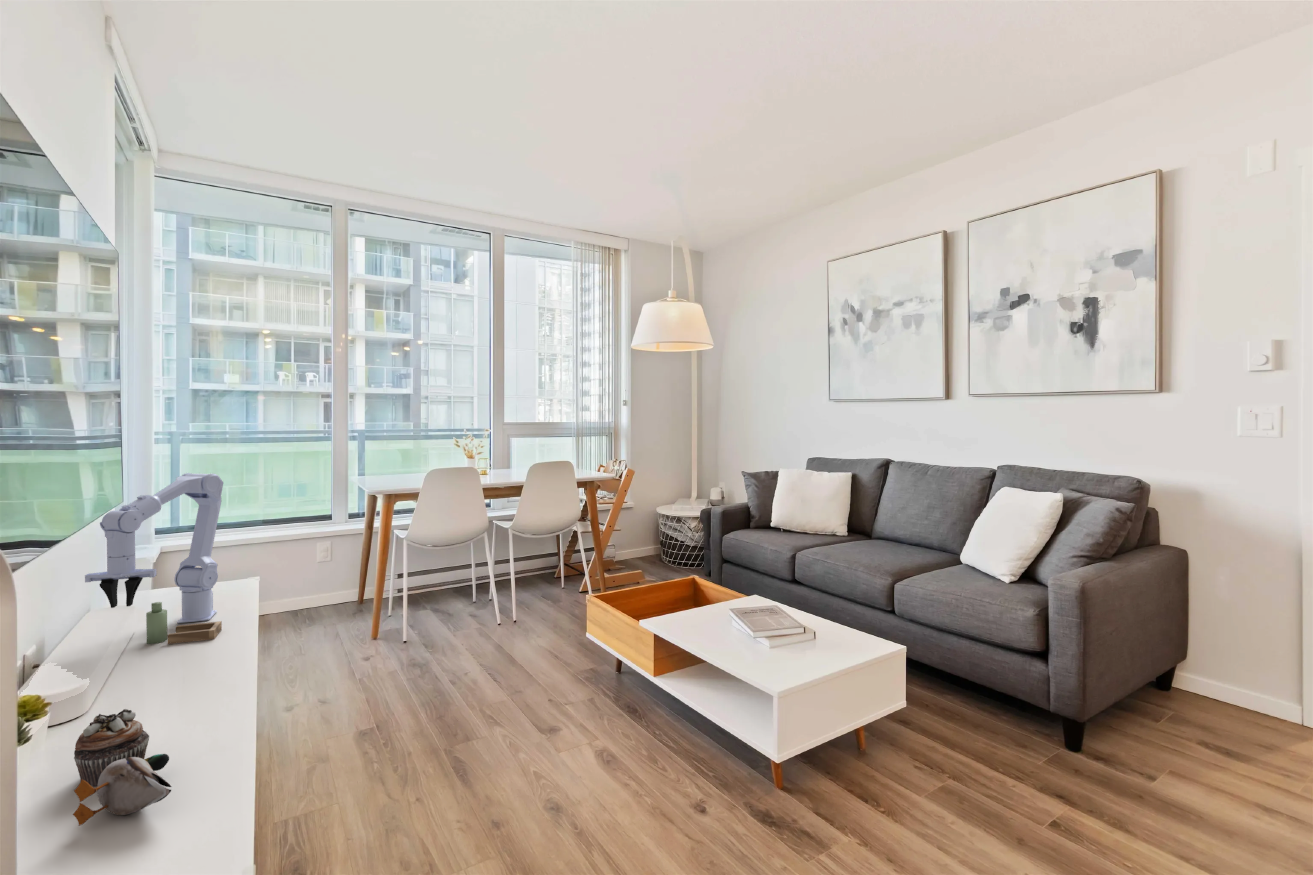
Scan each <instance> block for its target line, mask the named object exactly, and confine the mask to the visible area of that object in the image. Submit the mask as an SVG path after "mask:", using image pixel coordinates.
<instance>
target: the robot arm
mask: <svg viewBox="0 0 1313 875" xmlns="http://www.w3.org/2000/svg"><path fill="white" fill-rule="evenodd" d="M223 488H224V480H222V479H221V477H220V476H219V474H216V473H213V472H212V473H211V472H210V473H193V472H186V473H183V474H182V475H180V476H177V477H175V481H173V482H171V483H170V484H168V485H166V486H165V487H164V488H162V489H161V490H158V492H156V493H154V494H153V495H151V494H145V495H144V494H141V495H139V496H137V497H136V498H137V499H136V500H134V501H132V502H130V503H129V504H124V505H122V506H121V508H120V509H118V510H111V511H108V512H107V513H106V514H105V515H103V517H102V519H101V521H100V522H99V526H100V528H101V530H102V531H103V532H104V537H105V538H106V567H107V568H106V571H101V572H92V573H91V572H90V573H89V572H88V573H86V574H85V575H84V583H91V582H100V583H99V587H100V588H101V590H102V591H103V592H104V594H105V595H106V597H107V599H108V602H109V604H110V608H111V609H114V608H116V607H118V584H119V580H125V581H124V586H125V590H126V591H125V593H126V600H125V604H126V607H131V606H132V605H133V604H134V598H135V596H136V593H137V590H138V588H139V587H140V584H141V582H142V581H143V579H144V578H155V577H156V576H157V568H136V531H137V530H138V529H139V528H140V527H141V525H142V523H143V522H144V521H146V520H148V519H149V518H151V517H152V516H155V515H156V514H157V513H160V512H161V509H162V506H163V505H164V504H166V503H168V502H171V501H173V500H174V499H177V498H178V497H180V496H182V495H185V496H188V497H189V498H191V499H192V500H194V501H195V503H197V504H198V509H197V514H196V518H195V524H194V529H193V532H192V538H191V544H190V548H189V549H190V550H189V554H188V556H187V557H186V558H185V559H184V560H182V561H181V562H180V563H179V568H178V569H177V571H176V573H175V574H174V577H173V578H174V584H175V585H176V586H177V587H178V588H179V591H181V617H180V618H179V619H178V620H177V621H176V623H177V624H185V623H193V622H205V621H210V620H211V619H212V617H213V616H214V615H215V614H216V613H217V611H218V610H216V609H215V610H214V593H213V592H214V591H213V590H212V589H214V586H215V585H216V583H217V582H218V578H219V574H218V573H219V572H218V566H219V565H218V563H217V561H215V560H214V559H213V558H212V554H213V553H212V551H213V546H214V541H215V537H216V532H217V526H218V522H219V516H220V511H221V505H222V491H223Z"/></svg>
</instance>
